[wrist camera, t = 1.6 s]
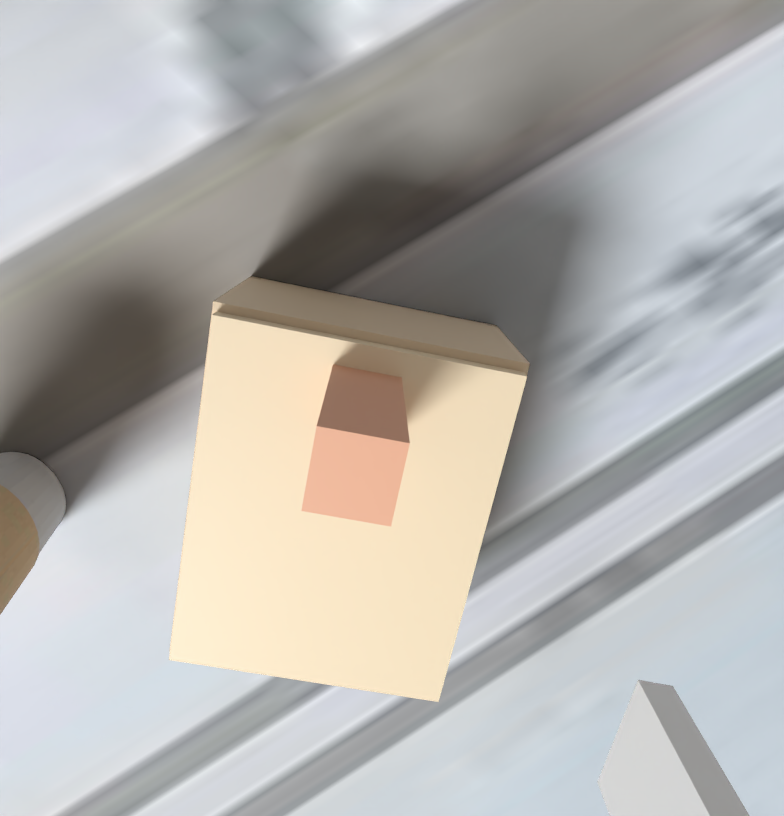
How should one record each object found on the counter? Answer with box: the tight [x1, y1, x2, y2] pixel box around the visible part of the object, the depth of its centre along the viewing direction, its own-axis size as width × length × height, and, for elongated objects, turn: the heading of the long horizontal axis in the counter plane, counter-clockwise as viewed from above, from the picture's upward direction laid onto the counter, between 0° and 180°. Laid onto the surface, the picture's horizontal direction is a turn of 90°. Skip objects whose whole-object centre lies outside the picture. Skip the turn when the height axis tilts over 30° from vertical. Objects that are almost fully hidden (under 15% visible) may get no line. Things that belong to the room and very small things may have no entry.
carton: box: [170, 276, 530, 647], centre depth 36 cm, size 18×14×9 cm
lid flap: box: [169, 312, 527, 702], centre depth 28 cm, size 17×14×9 cm
